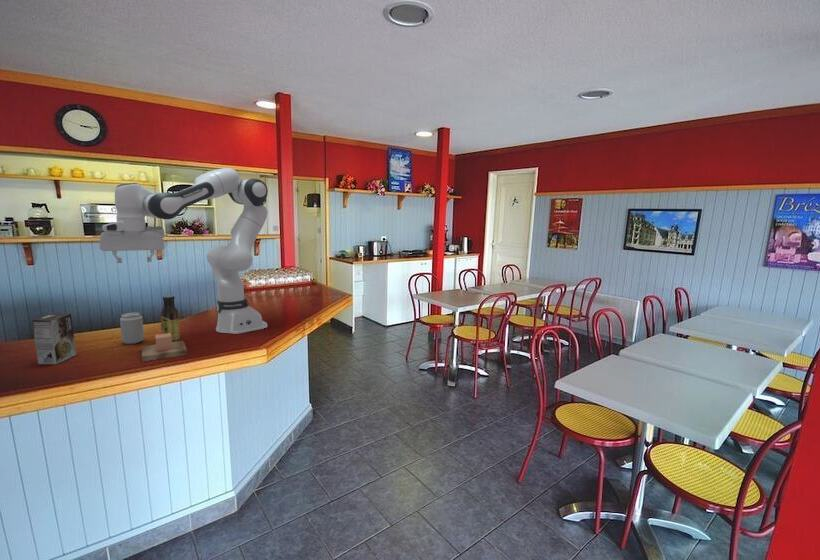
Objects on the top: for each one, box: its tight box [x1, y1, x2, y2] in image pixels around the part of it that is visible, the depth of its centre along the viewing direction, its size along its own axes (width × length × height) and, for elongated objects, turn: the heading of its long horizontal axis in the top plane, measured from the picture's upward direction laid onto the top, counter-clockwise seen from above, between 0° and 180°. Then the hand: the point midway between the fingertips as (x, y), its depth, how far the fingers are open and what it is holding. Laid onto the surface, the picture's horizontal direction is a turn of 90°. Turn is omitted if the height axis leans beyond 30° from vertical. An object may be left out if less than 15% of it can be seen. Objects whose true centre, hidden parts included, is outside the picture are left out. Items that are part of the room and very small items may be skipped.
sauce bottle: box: [160, 294, 180, 342], centre depth 157 cm, size 7×6×20 cm
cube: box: [154, 333, 172, 351], centre depth 146 cm, size 5×5×5 cm
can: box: [119, 312, 145, 345], centre depth 157 cm, size 8×8×12 cm
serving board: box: [141, 340, 188, 363], centre depth 146 cm, size 14×13×2 cm
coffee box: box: [31, 312, 77, 365], centre depth 136 cm, size 9×6×16 cm
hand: (134, 262), depth 147 cm, fingers open, 8 cm apart
